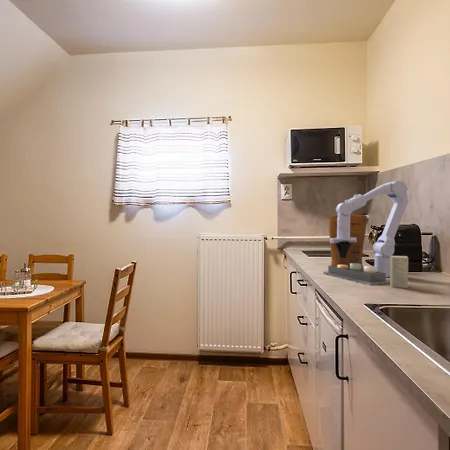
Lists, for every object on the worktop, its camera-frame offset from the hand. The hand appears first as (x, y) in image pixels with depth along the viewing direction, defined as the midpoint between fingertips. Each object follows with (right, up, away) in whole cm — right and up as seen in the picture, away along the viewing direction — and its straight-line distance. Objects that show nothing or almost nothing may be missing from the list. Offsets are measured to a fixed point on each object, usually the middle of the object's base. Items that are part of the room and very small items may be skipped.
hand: (342, 258), depth 170 cm
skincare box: (+15, -10, -24) cm, 29 cm away
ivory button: (+7, -6, -14) cm, 17 cm away
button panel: (+3, -8, -7) cm, 11 cm away
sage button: (+3, -5, -7) cm, 9 cm away
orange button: (0, -7, 0) cm, 7 cm away
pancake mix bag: (+11, -7, +27) cm, 29 cm away
